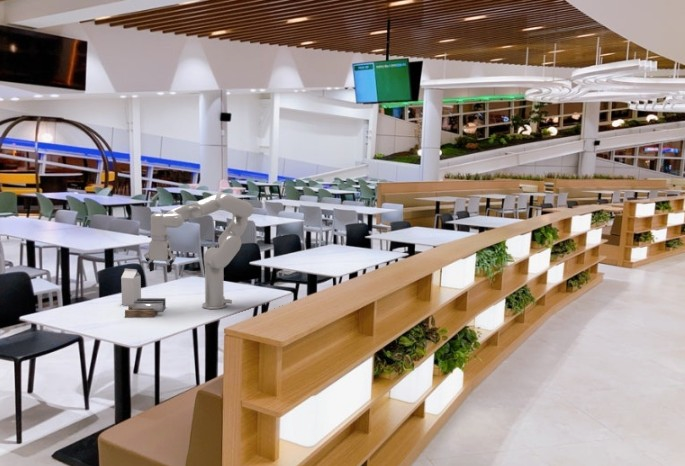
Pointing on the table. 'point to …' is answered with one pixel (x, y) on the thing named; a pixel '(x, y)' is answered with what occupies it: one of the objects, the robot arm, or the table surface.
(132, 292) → the milk carton
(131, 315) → the brown piece
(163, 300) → the v block
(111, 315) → the table surface
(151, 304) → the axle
